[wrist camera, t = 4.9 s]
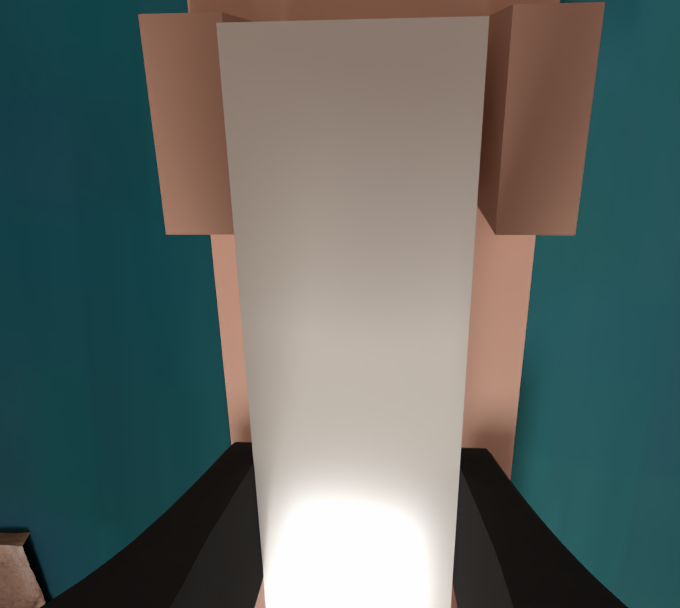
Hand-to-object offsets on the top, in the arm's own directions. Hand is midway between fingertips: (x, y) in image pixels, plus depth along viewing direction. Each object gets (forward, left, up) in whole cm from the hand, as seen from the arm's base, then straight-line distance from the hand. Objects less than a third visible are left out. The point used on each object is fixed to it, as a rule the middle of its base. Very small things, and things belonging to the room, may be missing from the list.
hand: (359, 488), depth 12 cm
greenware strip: (0, 0, -5) cm, 5 cm away
